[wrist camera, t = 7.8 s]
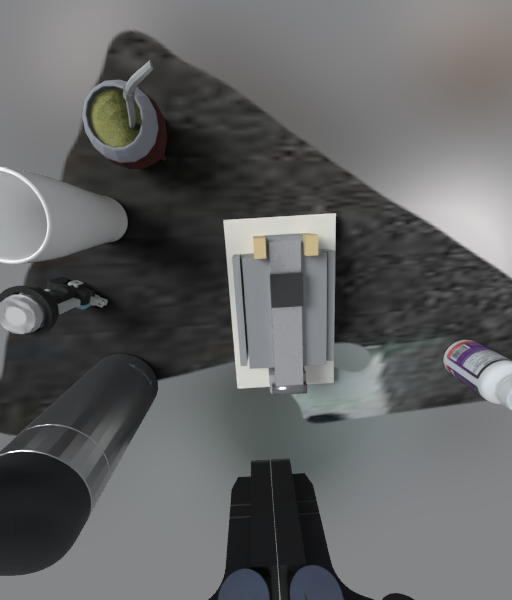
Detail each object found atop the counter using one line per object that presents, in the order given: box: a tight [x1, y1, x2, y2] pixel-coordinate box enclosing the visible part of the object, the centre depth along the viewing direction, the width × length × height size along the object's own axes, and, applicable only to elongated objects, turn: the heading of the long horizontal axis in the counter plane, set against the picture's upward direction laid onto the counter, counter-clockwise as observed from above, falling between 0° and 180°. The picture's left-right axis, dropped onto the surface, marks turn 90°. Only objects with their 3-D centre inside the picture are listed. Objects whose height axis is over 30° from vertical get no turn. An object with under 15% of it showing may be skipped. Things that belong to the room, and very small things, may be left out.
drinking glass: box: [0, 167, 128, 264], centre depth 27 cm, size 7×7×15 cm
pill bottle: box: [443, 340, 512, 411], centre depth 35 cm, size 5×5×10 cm
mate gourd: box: [83, 60, 170, 169], centre depth 25 cm, size 7×8×15 cm
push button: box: [0, 277, 108, 339], centre depth 32 cm, size 7×5×10 cm
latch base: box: [223, 213, 336, 393], centre depth 34 cm, size 22×13×7 cm, turn 3°
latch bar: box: [269, 240, 307, 395], centre depth 32 cm, size 18×4×2 cm, turn 3°
